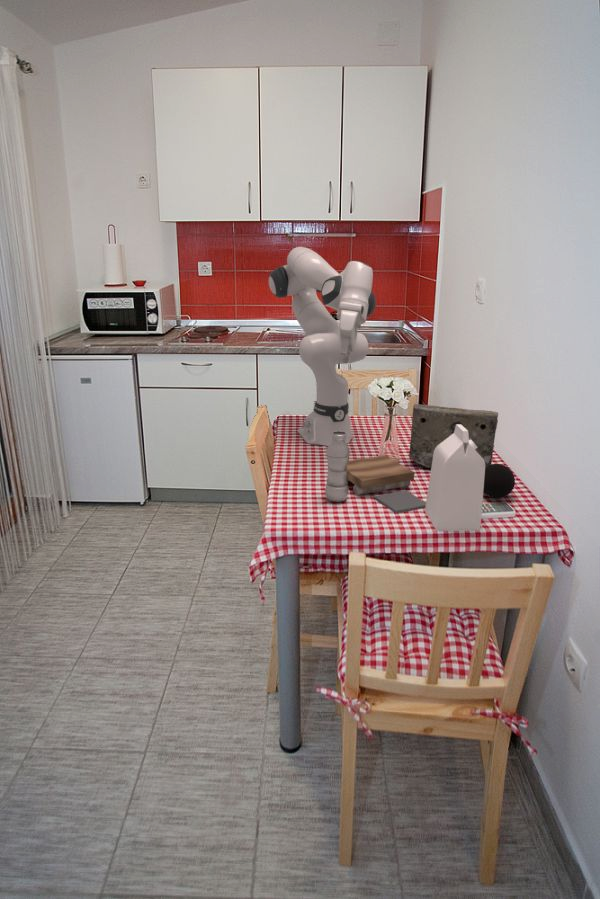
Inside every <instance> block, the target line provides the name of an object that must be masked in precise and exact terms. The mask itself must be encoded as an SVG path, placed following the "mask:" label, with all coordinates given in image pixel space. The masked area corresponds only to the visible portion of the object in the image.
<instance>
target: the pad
mask: <svg viewBox="0 0 600 899" xmlns="http://www.w3.org/2000/svg"><path fill="white" fill-rule="evenodd" d="M373 499H374V500H375V501H377V502H378V503H379V504H381V505H382V506H384V507H385V508H387V509H389V510H390V511H391V512H393V513H395V514H400V513H405V512H411V511H415V510H421V509H425V507H426V501H424V500H423V499H420V497H418V496H416V495H414V494H412V493H411V492H410V491H408V490H407V489H406V490H400V491H395V492H390V493H383V494H379V495H374V498H373Z"/></svg>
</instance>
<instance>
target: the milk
mask: <svg viewBox="0 0 600 899" xmlns="http://www.w3.org/2000/svg"><path fill="white" fill-rule="evenodd" d="M476 448H478V447H477V446H476V445H475V444H474V442H473V441H472V440H471V439H470V440H469V436H468V430H466V429H465V428H464V427H463V426H462V425H461V424H456V427H455V431H454V433H453V434H452V435H451V436H449V437H448V438H447V439H445V440H444V441H443V442H441V443H440V444H439V445H438V446H437V447H436V448H435V450H434V454H433V460H432V467H431V468H430V474H429V475H430V476H429V482H428V487H427V495H426V501H425V502H426V507H425V508H424V513H425V514H426V515H427V517H428V519H429V521H430V522H431V524H432V525H433V527H434V529H435V531H436V532H445V531H446V532H448V531H449V532H453V531H454V532H456V531H457V532H461V531H463V532H464V531H465V532H467V531H471V532H472V531H481V524H482V523H481V522H482V514H483V513H482V511H483V502H484V501H483V500H484V499H483V498H484V492H483V489H484V476H485V462H484V459H483V458H482V457H481V456H480V455H479V454H478V453H477V451H476V450H475V449H476Z"/></svg>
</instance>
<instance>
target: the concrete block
mask: <svg viewBox="0 0 600 899" xmlns="http://www.w3.org/2000/svg"><path fill="white" fill-rule="evenodd" d="M498 417H499V412H497V411H492V410H484V409H483V410H482V409H467V408H460V407H447V406H439V405H431V404H419V403H417V404H416V403H415V404H413V408H412V418H411V430H410V443H409V452H408V454H409V455H408V456H409V458H410V460H412V461H414V462H415V463H417V464H419V465H421V466H423V467H426V468H427V469H428V468H429V469H431V467H432V460H433V454H434V450H435V448H436V447H437V446H438V445H439V444H440V443H441V442H443V441H444V440H445V439H447V438H448V437H449V436H451V435H452V434H453V433H454V431H455V427H456V424H461V425H462V426H463V427H464V428H465V429H466V430H468V436H469V440H470V439H471V440H472V441H473V442H474V444H475V445H476V446H477V447H478V448H476V449H475V450H476V451H477V453H478V454H479V455H480V456H481V457H482V458H483V459H484V462H485V468H486V467H487V466H489V465H491V464H492V462H493V456H494V448H495V438H496V431H497V428H498V420H499V419H498Z"/></svg>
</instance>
